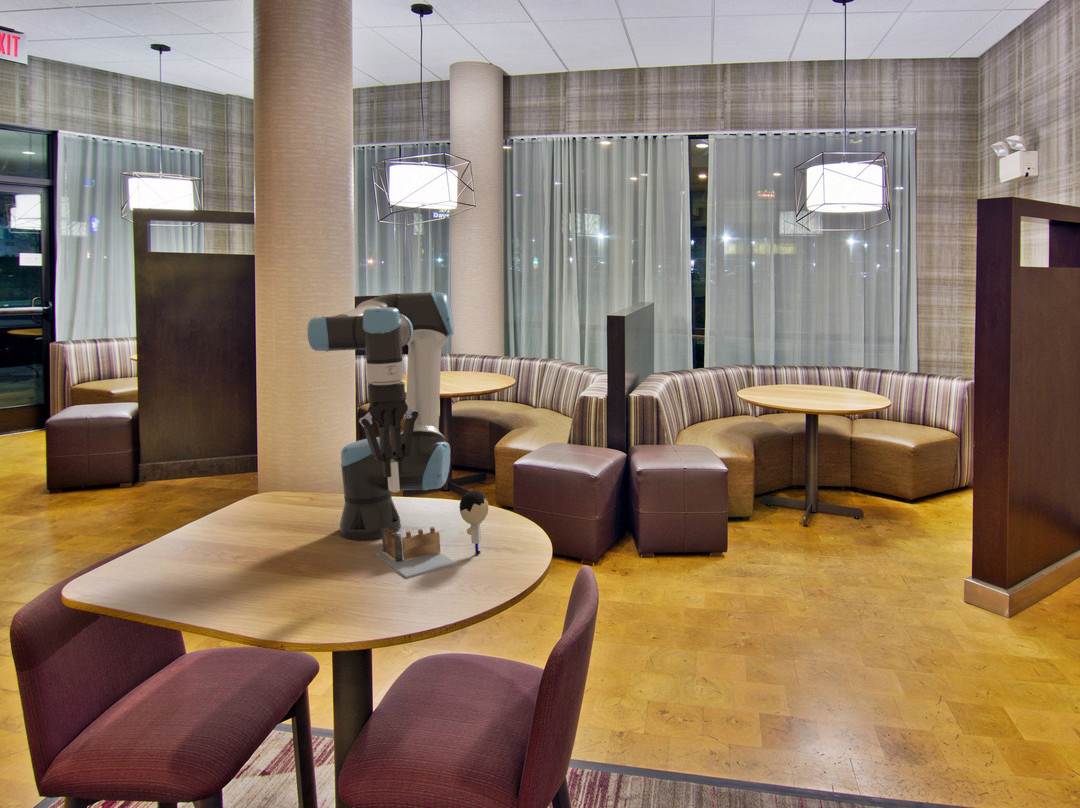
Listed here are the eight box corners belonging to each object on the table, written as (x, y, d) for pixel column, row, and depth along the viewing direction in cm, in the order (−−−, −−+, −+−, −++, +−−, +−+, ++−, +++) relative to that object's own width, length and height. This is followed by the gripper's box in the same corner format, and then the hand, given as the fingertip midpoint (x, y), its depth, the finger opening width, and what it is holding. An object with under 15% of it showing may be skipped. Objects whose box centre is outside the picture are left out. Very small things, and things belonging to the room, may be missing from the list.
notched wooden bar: (404, 559, 173) (402, 533, 172) (403, 557, 174) (401, 532, 173) (440, 552, 176) (438, 527, 175) (439, 550, 177) (437, 526, 176)
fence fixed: (382, 552, 180) (380, 526, 179) (388, 551, 181) (386, 525, 179) (397, 564, 172) (395, 536, 171) (404, 562, 173) (402, 535, 172)
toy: (485, 561, 172) (481, 497, 169) (457, 560, 173) (453, 496, 171) (495, 547, 180) (491, 486, 178) (468, 546, 182) (464, 485, 179)
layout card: (376, 555, 178) (376, 553, 178) (423, 543, 185) (423, 541, 185) (406, 578, 164) (406, 576, 164) (456, 564, 171) (456, 562, 171)
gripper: (362, 387, 154) (371, 500, 158) (422, 380, 161) (429, 488, 165) (349, 383, 160) (358, 492, 165) (407, 376, 167) (414, 481, 172)
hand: (394, 490), depth 165 cm, fingers closed
